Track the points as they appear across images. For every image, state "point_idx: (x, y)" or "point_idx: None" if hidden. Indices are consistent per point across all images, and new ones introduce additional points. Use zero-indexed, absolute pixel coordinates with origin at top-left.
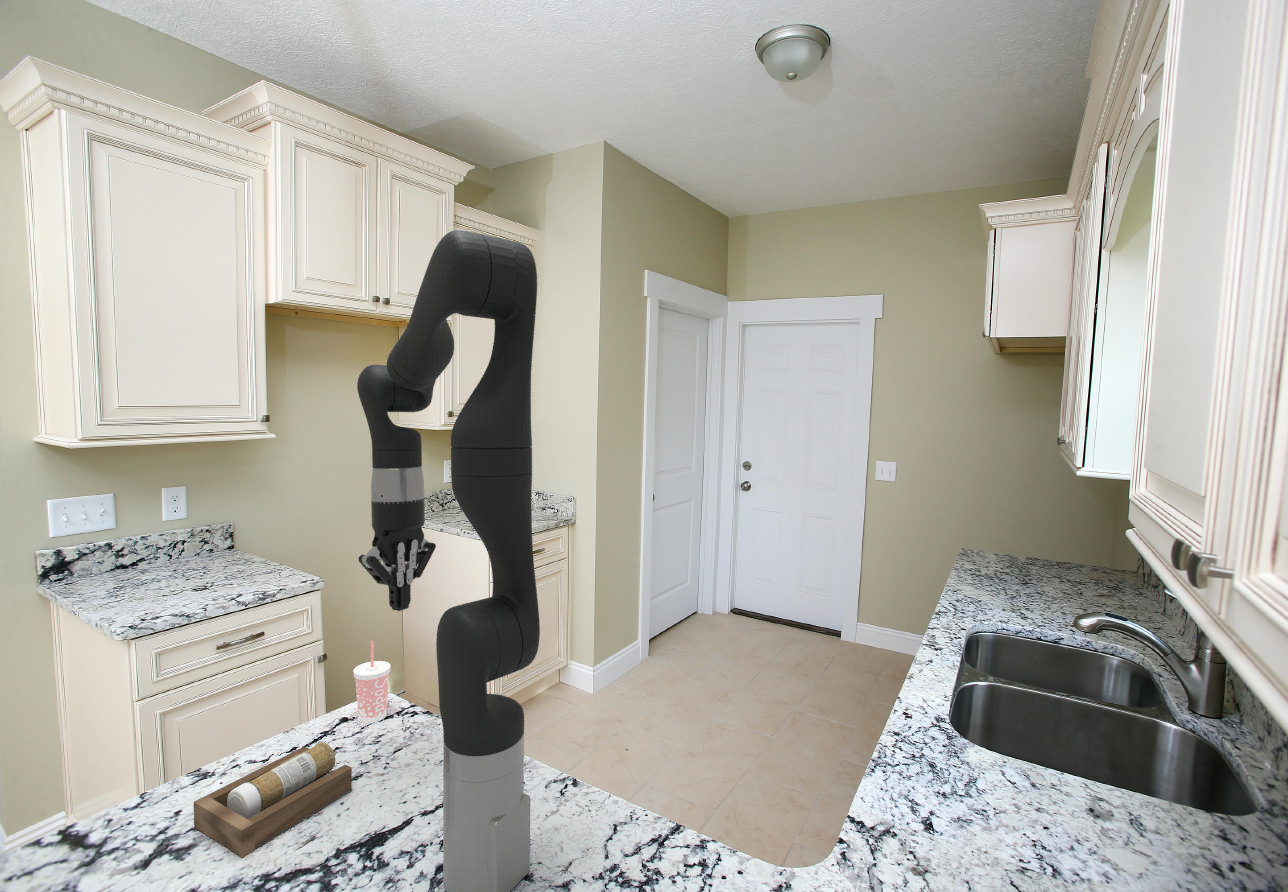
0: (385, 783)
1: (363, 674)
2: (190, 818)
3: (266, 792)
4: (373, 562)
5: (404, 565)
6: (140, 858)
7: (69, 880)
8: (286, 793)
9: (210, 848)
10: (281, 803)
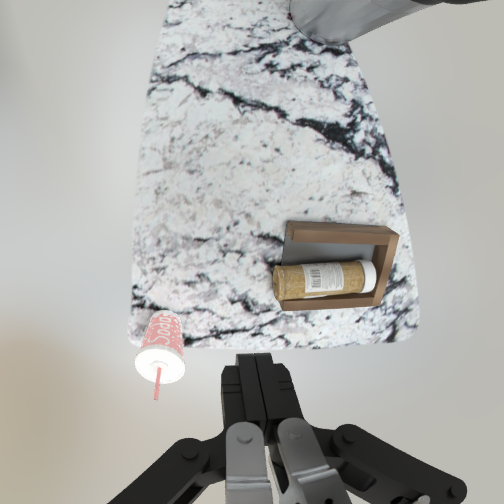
0: (260, 197)
1: (179, 362)
2: None
3: (356, 267)
4: (451, 485)
5: (306, 496)
6: (399, 289)
7: (417, 302)
8: (333, 262)
9: None
10: (365, 239)
